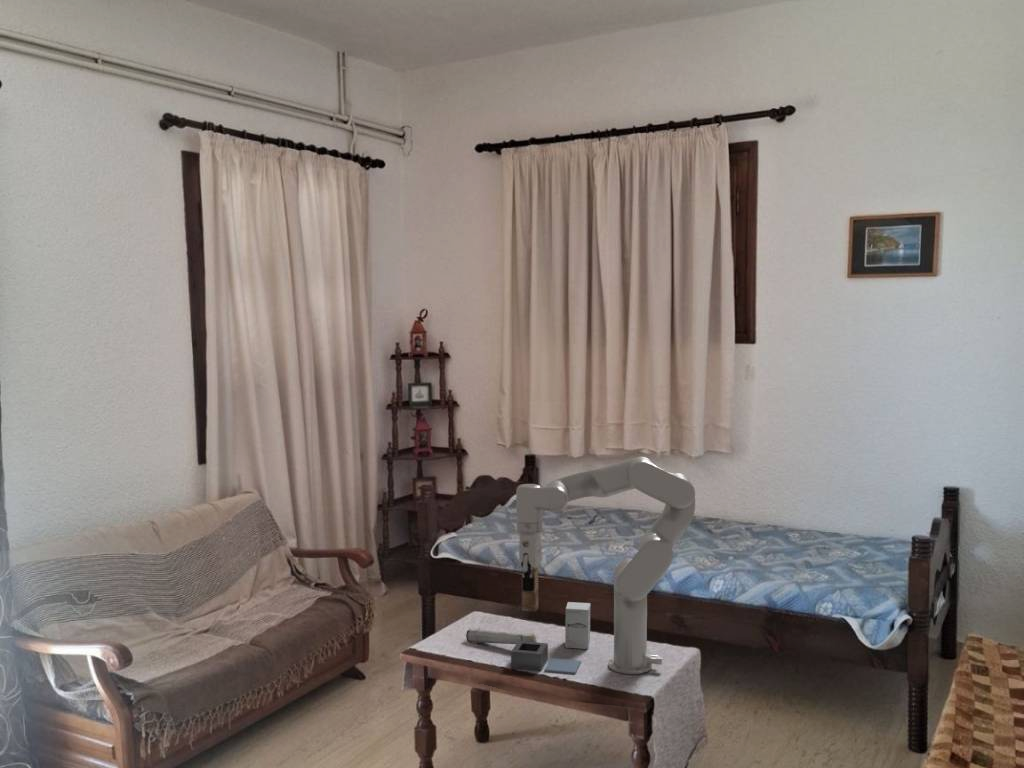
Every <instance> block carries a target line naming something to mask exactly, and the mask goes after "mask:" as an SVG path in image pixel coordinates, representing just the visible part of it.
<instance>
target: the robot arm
mask: <svg viewBox="0 0 1024 768" xmlns="http://www.w3.org/2000/svg"><path fill="white" fill-rule="evenodd" d="M634 489H635V490H637V491H639V492H641V493H643V494H644V495H647V496H648V497H650V498H653V499H655V500H657V501H658V502H661V503H663V504H665V506H664V508H663V510H662V511H661V513H660V515H658V518H656V520H655V521H654V522H653V523H652V524H651V526H650V527H648V530H647V531H646V532H645V533H644V534H643V535H642V536H641V538H640V539H639V541H638V544H637V552H636V554H635V555H634V556H633V557H627V558H624V559H622V560H620V561H619V562H618V563H617V565H616V566H615V568H614V571H613V657H611V658H609V660H608V668H609V669H611V670H612V671H614V672H617V673H619V674H623V675H624V674H625V675H640V674H641V675H642V674H646V673H648V672H650V671H651V670H652V669H653V668H652V667H653V665H658V666H660V665H662V664H663V657H659V655H656V654H653V655H652V654H651V653H649V652H650V651H649V649H648V648H647V647H648V646H647V645H648V644H647V642H648V641H647V640H648V639H647V637H648V636H647V634H648V633H647V632H648V630H647V629H648V627H647V625H648V624H647V623H648V622H647V621H648V594H649V593H650V592H651V591H652V590H653V589H654V588H655V586H656V585H657V583H658V582H659V581H660V580H661V578H662V577H663V576H664V575H665V573H666V572H667V571H668V570H669V569H670V566H671V564H672V563H673V559H674V547H675V546H676V545H677V543H678V542H679V541H680V539H682V537H683V535H684V534H685V532H686V531H687V530H688V528H689V527H690V525H691V523H692V521H693V518H694V516H695V510H696V490H695V489H696V488H695V487H694V485H693V483H692V482H691V480H690V479H689V478H688V476H686V475H685V474H683V473H680V472H674V473H672V472H669V471H667V470H665V469H663V468H661V467H659V466H657V465H656V464H654V462H653V461H652V460H651V459H649V458H648V457H646V456H637V457H633V458H630V459H626V460H623V461H619V462H616V463H612V464H610V465H606V466H604V467H599V468H596V469H591V470H588V471H584V472H579V473H575V474H571V475H567V476H564V477H560V478H558V479H555V480H552V481H550V482H549V483H547V484H546V485H545V486H542V487H541V486H540V485H539V484H536V483H524V484H523V483H522V484H520V485H518V486H517V487H516V491H515V492H516V494H515V495H516V499H515V500H516V506H515V507H516V508H515V509H516V533H517V534H519V542H518V543H519V547H518V549H519V551H518V558H519V559H518V562H519V566H520V568H521V572H522V571H523V591H533V590H534V577H533V568H536V567H537V566H538V567H539V565H540V564H541V562H542V561H543V549H542V546H543V545H542V533H543V511H545V512H551V513H554V512H555V513H557V512H561V511H563V510H564V509H565V508H566V506H567V505H568V503H569V502H572V501H575V500H580V499H584V498H589V497H594V498H595V497H596V498H607V497H611V496H615V495H617V494H621V493H624V492H628V491H632V490H634ZM528 565H531V567H528ZM522 567H523V569H522ZM528 569H530V571H529V570H528ZM645 672H646V673H645Z"/></svg>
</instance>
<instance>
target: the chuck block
mask: <svg viewBox="0 0 1024 768" xmlns="http://www.w3.org/2000/svg"><path fill="white" fill-rule="evenodd" d="M537 642H538V641H537ZM537 642H526V641H518V642H517V644H514V647H512V649H511V651H510V669H513V670H514V669H515V670H516V669H517V670H527V671H536V672H542V671H543V669H544V667H546V666H545V665H546V664H547V662H548V661H549V660H548V659H549V653H548V652H549V651H548V650H549V645H548V644H549V643H548V642H547V643H546V642H539V643H537Z"/></svg>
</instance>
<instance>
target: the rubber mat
mask: <svg viewBox="0 0 1024 768" xmlns="http://www.w3.org/2000/svg"><path fill="white" fill-rule="evenodd" d="M546 664H547V665H546V666H545V668H544V672H548V673H557V674H565V675H566V674H568V675H576V674H577V672H578V670H579V668H580V666H581V664H582V660H575V659H566V658H554V657H552V658H551V657H550V659H549V660H548V663H546Z"/></svg>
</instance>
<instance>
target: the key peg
mask: <svg viewBox="0 0 1024 768" xmlns="http://www.w3.org/2000/svg"><path fill="white" fill-rule="evenodd" d="M528 567H531V565H528ZM522 569H523V567H521V605H522V606H521V611H522V612H535V613H536V612H537V610H538V609H539V607H540V606H539V565H538V566H537V567H536V568H533V577H534V590H533V591H523V571H522ZM528 570H529V571H530V569H528Z"/></svg>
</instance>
